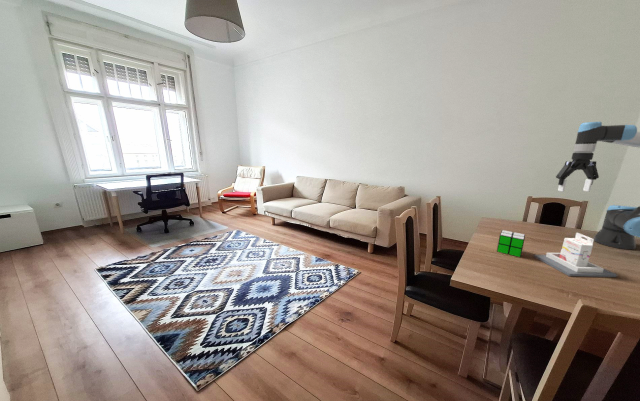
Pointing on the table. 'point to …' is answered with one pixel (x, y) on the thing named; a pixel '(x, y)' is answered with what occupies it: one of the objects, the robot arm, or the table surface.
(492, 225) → the table surface
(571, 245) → the ink cartridge box
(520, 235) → the puzzle cube
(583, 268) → the cartridge dock
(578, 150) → the robot arm
